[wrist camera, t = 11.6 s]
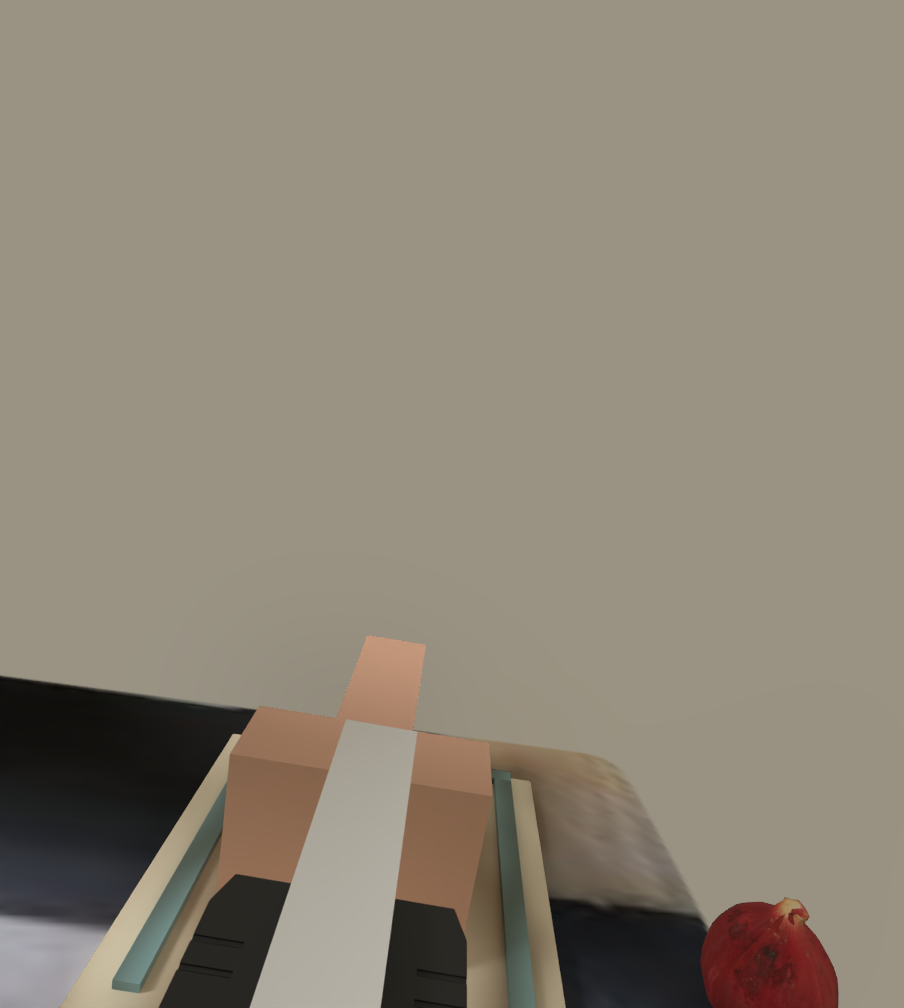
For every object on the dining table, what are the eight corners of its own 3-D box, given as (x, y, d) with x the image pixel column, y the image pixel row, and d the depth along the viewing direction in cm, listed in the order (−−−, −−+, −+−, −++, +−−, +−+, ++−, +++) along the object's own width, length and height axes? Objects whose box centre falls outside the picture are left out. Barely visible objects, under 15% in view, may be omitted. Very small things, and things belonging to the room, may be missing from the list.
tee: (212, 933, 30) (229, 753, 28) (293, 755, 43) (308, 625, 41) (456, 971, 30) (492, 796, 28) (459, 782, 43) (484, 654, 41)
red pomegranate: (776, 1136, 26) (832, 989, 24) (661, 1014, 31) (702, 881, 29) (831, 1060, 30) (884, 927, 28) (722, 960, 34) (762, 839, 32)
